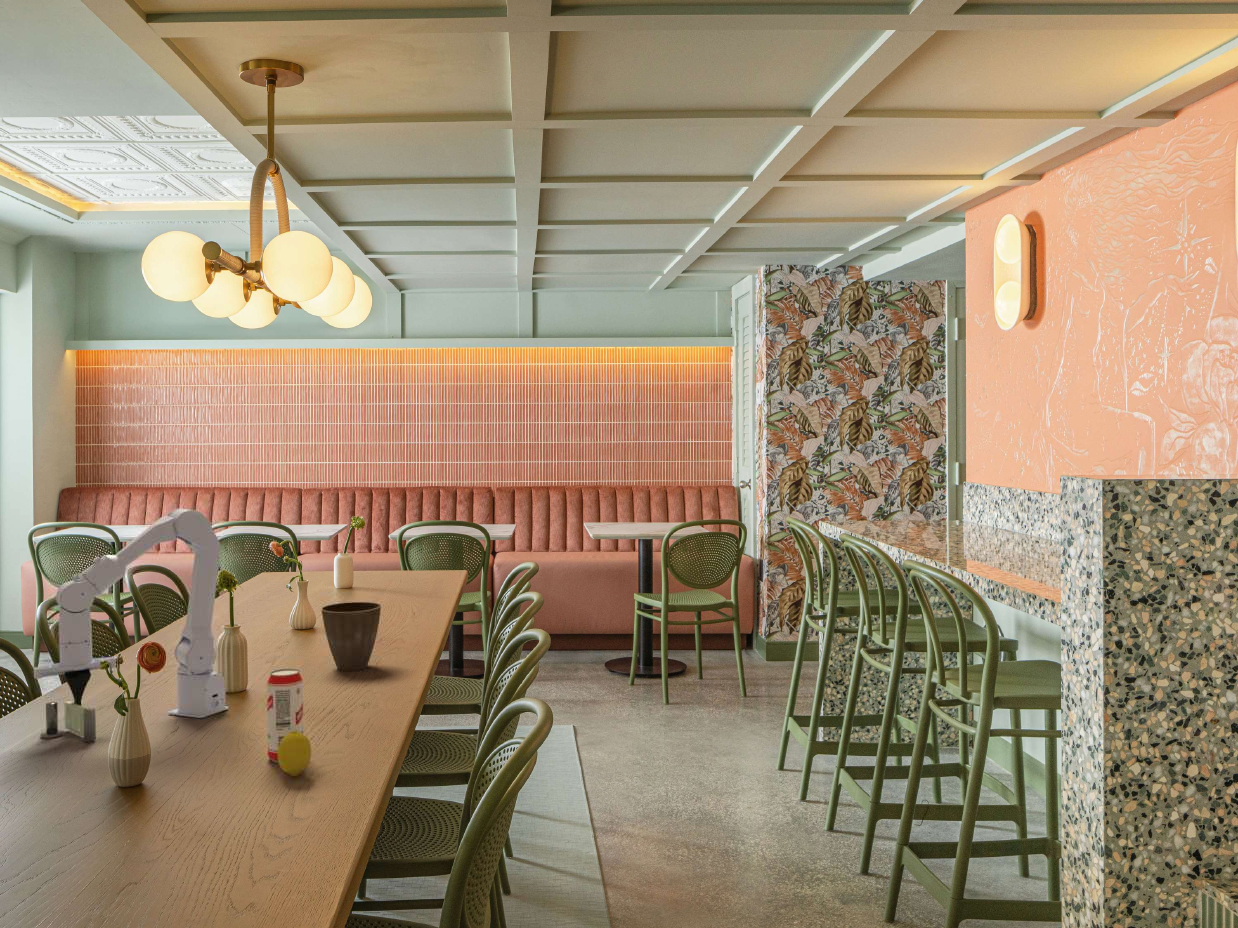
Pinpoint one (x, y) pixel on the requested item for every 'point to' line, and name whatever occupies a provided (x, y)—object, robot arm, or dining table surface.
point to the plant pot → (351, 632)
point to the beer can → (283, 707)
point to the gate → (80, 720)
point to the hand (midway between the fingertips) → (77, 707)
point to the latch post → (52, 722)
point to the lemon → (294, 753)
